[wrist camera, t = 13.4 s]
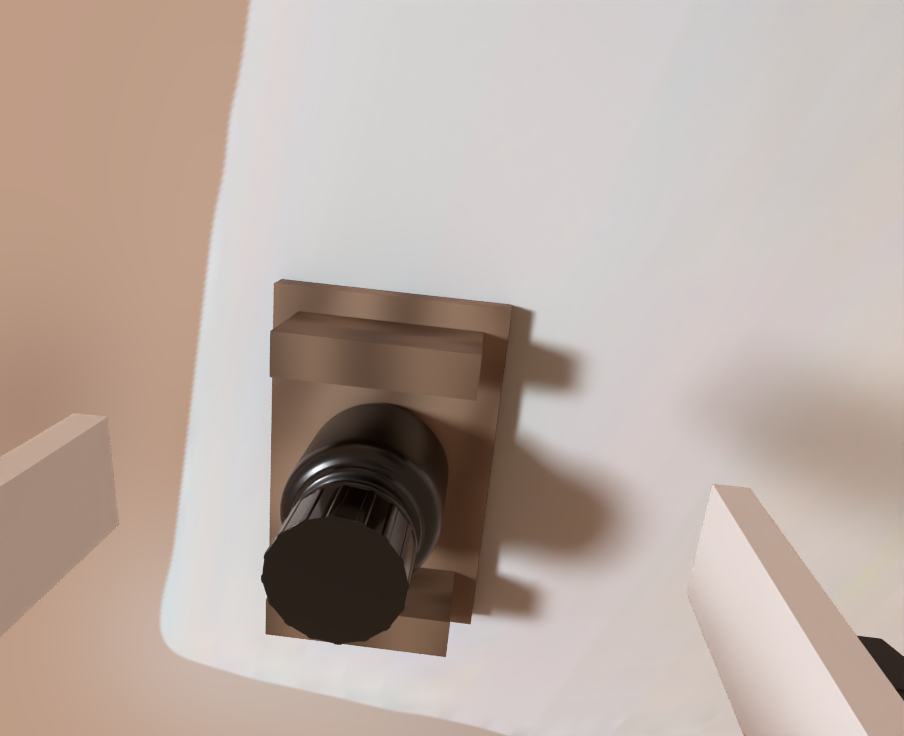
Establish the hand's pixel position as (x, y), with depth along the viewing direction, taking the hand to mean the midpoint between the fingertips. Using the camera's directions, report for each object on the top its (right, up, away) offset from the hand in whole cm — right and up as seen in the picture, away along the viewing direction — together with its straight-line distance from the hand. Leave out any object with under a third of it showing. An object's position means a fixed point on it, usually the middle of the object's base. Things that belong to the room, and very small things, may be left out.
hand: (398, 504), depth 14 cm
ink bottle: (-3, -3, +27) cm, 27 cm away
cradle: (-3, -3, +28) cm, 28 cm away
